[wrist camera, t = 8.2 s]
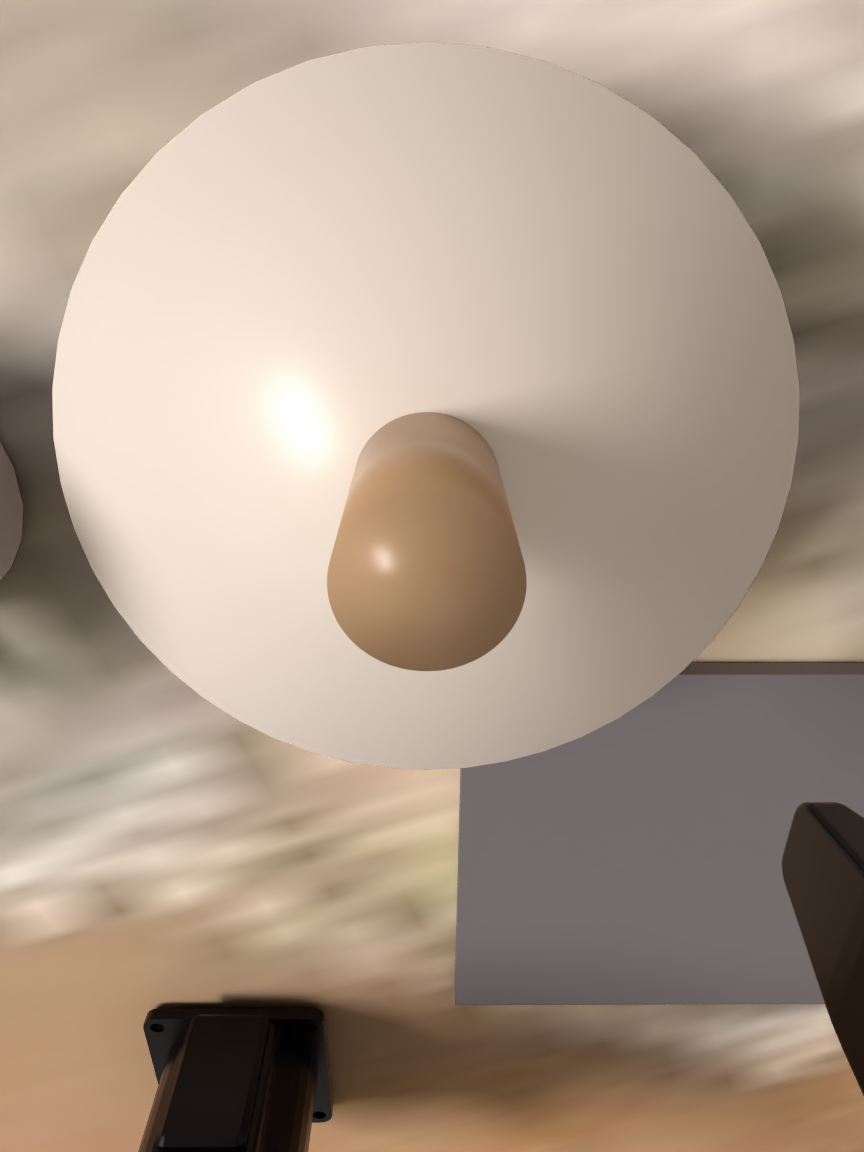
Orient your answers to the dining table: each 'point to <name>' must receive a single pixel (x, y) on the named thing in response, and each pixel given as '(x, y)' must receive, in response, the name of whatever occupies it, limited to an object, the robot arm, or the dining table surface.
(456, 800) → the dining table surface
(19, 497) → the cup
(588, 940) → the mat
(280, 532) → the lid
